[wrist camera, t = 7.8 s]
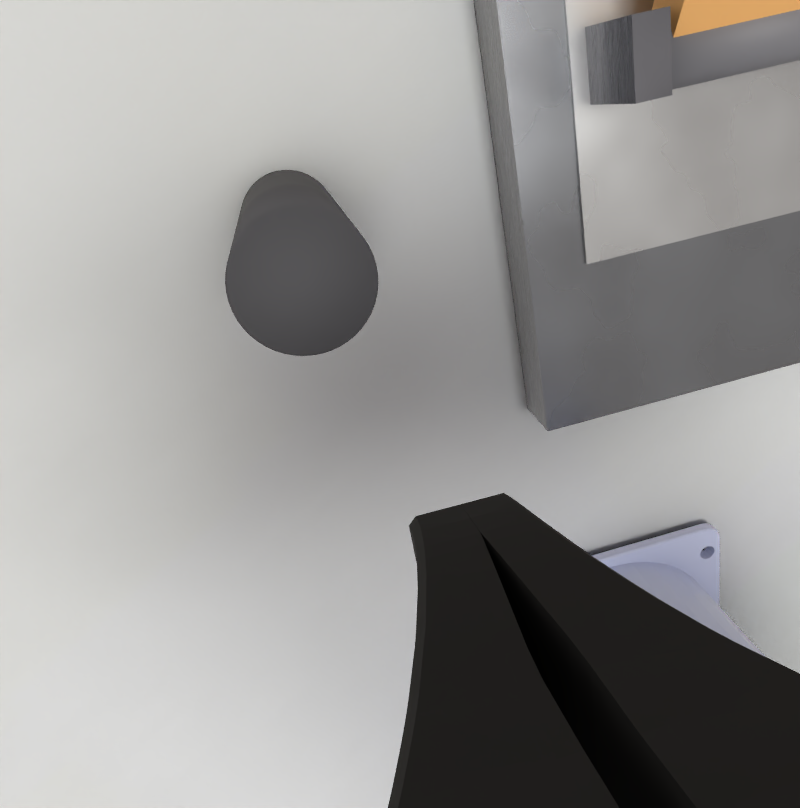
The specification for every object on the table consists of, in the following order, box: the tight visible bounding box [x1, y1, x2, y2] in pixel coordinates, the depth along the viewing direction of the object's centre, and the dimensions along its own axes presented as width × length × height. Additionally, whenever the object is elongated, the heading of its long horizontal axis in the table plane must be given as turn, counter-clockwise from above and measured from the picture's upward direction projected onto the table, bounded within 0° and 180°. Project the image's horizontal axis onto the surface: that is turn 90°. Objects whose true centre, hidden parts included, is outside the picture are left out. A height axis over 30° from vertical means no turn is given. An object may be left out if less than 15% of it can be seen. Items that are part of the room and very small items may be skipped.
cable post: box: [225, 170, 378, 356], centre depth 14 cm, size 2×2×7 cm
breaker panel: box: [474, 0, 800, 431], centre depth 15 cm, size 18×12×4 cm, turn 11°
